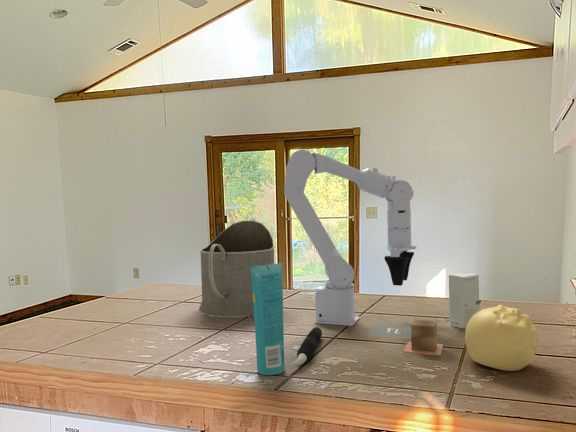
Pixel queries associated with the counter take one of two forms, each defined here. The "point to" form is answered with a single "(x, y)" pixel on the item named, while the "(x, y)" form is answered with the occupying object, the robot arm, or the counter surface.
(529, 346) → the sculpture
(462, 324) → the skincare box
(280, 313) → the tube
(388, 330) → the tile
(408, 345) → the pad
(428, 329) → the walnut block
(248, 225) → the grey fabric basket
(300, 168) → the robot arm
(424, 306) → the counter surface
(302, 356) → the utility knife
